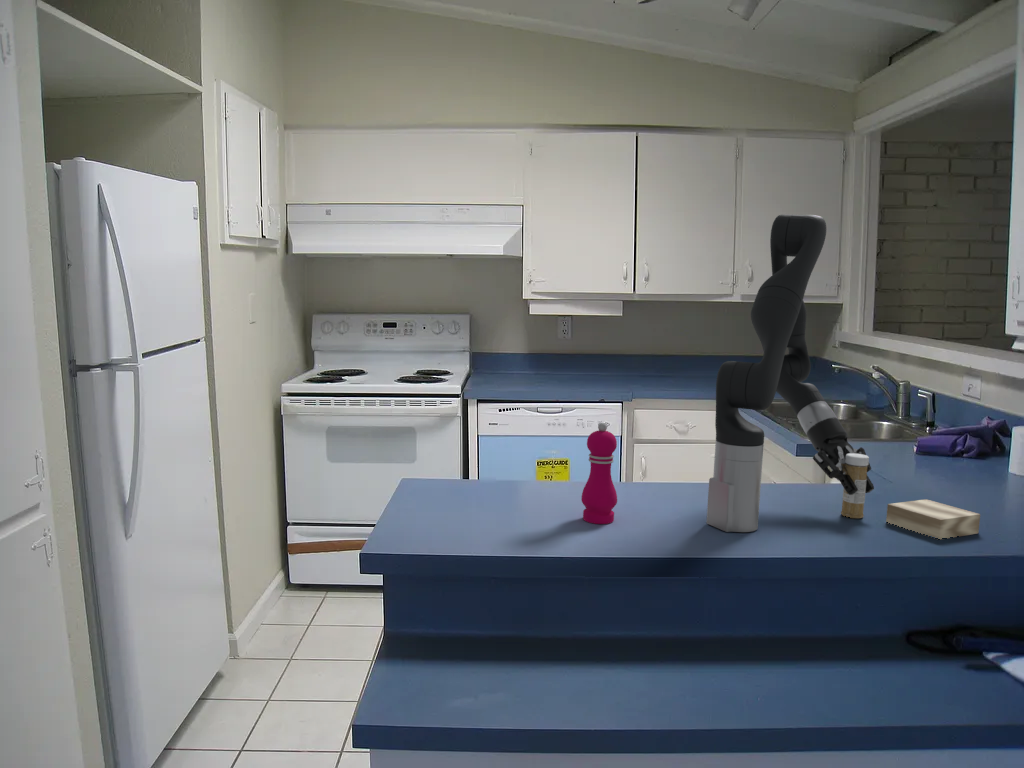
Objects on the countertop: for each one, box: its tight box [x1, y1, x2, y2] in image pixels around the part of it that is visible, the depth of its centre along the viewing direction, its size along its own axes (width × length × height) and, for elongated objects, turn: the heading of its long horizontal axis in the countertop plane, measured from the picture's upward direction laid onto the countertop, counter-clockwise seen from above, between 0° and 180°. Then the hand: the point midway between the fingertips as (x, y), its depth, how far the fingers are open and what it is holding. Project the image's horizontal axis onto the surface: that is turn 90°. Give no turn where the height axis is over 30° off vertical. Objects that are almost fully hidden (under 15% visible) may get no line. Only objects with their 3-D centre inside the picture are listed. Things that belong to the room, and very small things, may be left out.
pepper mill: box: [580, 422, 618, 525], centre depth 155 cm, size 7×7×20 cm
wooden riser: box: [885, 498, 981, 540], centre depth 158 cm, size 12×12×4 cm
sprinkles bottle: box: [840, 453, 870, 519], centre depth 165 cm, size 5×5×14 cm
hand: (862, 491), depth 163 cm, fingers closed on sprinkles bottle, 4 cm apart
